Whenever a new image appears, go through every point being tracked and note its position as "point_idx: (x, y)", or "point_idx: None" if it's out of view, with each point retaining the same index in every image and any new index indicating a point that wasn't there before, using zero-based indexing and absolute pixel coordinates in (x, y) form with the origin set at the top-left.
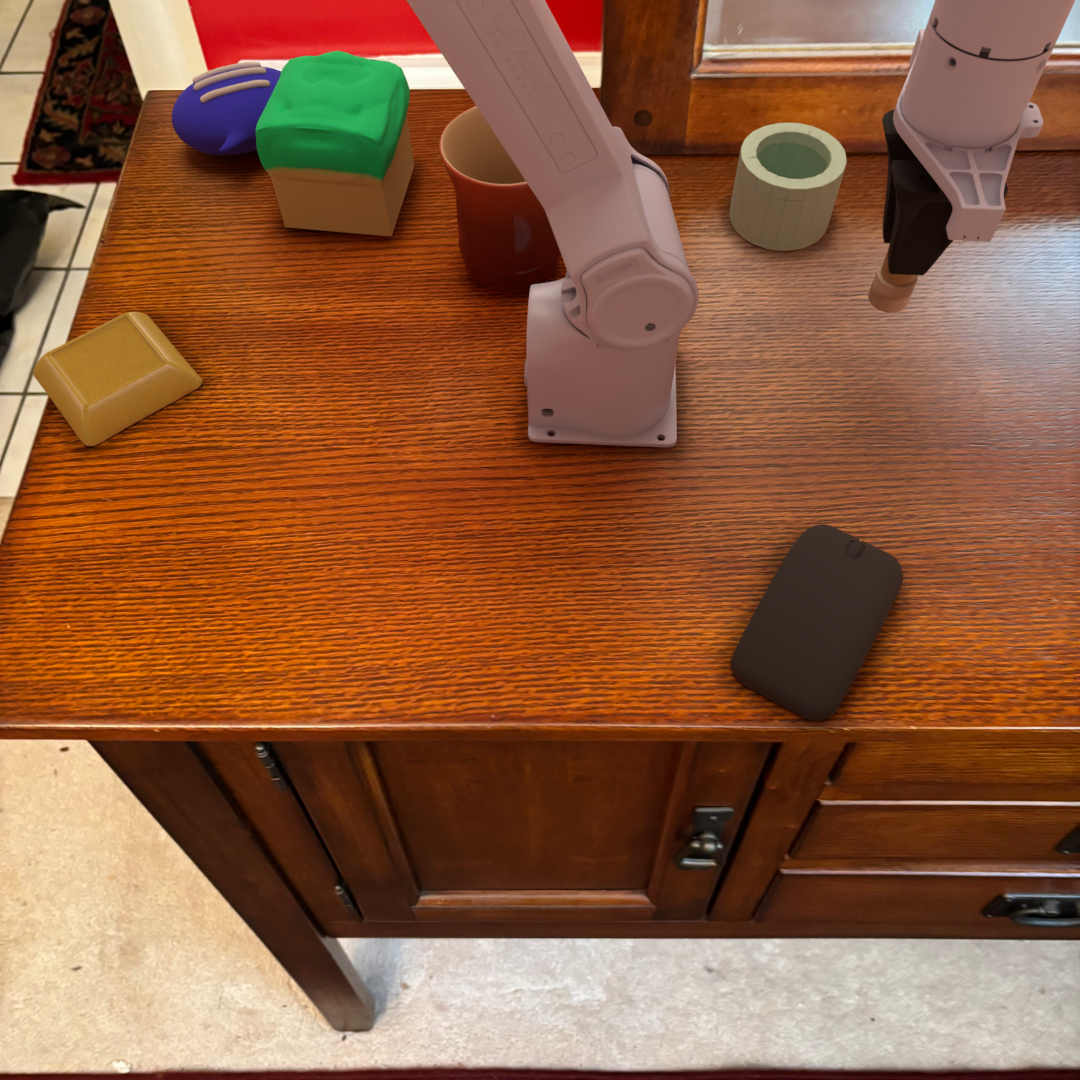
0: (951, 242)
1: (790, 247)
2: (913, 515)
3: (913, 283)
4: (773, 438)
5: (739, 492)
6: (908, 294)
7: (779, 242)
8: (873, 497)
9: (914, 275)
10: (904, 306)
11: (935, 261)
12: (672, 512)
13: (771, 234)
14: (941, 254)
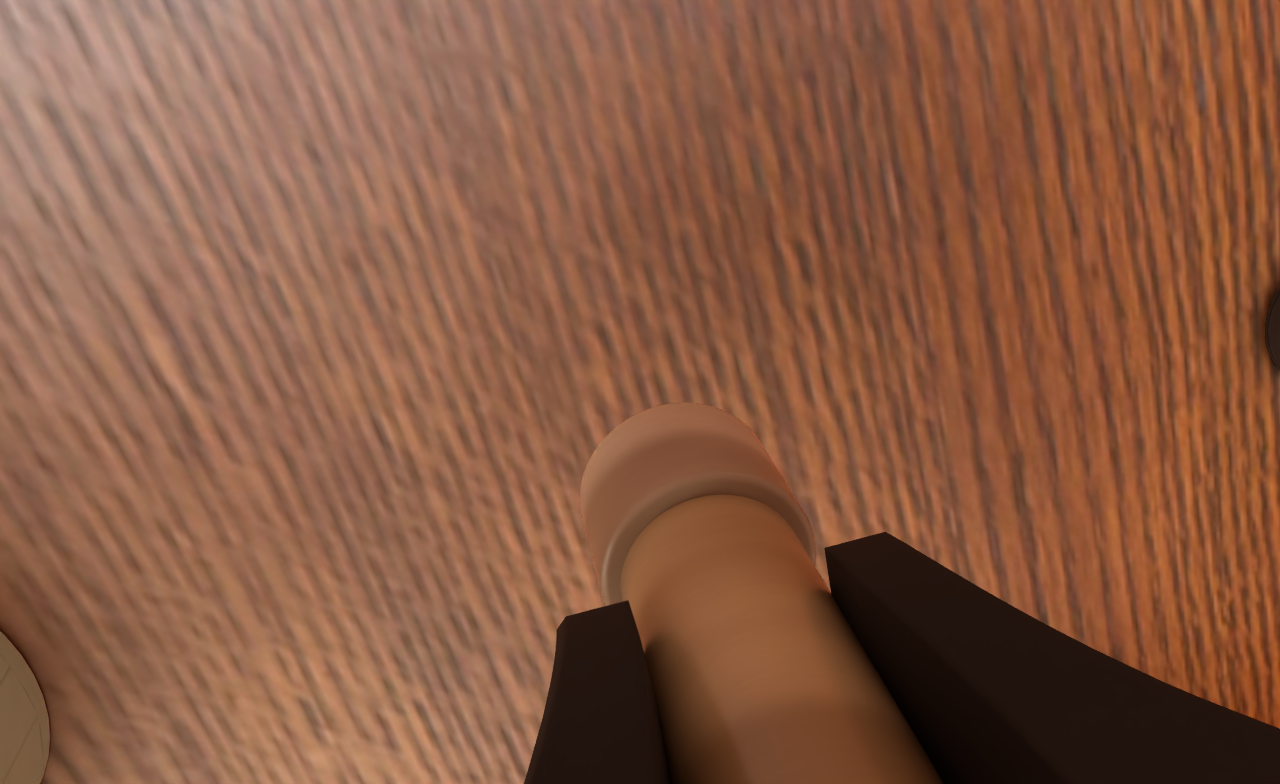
0: (1080, 643)
1: (11, 660)
2: (1163, 52)
3: (763, 489)
4: (920, 511)
5: (1120, 552)
6: (772, 468)
7: (27, 713)
8: (1104, 189)
9: (780, 527)
10: (742, 425)
11: (938, 564)
12: (1193, 680)
13: (24, 765)
14: (971, 584)
